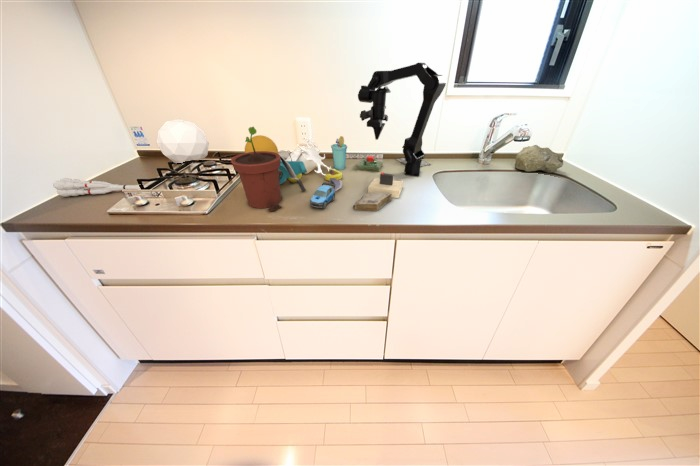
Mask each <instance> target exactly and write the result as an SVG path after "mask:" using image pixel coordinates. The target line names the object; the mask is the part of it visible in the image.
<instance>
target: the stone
mask: <svg viewBox="0 0 700 466" xmlns="http://www.w3.org/2000/svg"><path fill="white" fill-rule="evenodd" d="M391 200H392V197H391V193H390V192H386V193H378V192H369V193H368V192H366V193H364V194H363V195H362V196H361V197H360V199H359V200H357V201H356V202H355V203H354V204H353V205H352V208H353V209H354V210H355V211H366V212H367V211H372V212H378V211H379V210H380V209H381V208H383V207H384V206H385V205H387V204H388V203H389V202H391Z"/></svg>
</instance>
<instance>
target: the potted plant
mask: <svg viewBox="0 0 700 466" xmlns="http://www.w3.org/2000/svg"><path fill="white" fill-rule="evenodd" d="M247 130H248V132H249V134H250V137H249V136H246V137H245V142H244V143H247V142H250V143H252V147H253V150H254V152H248V153H245V152H243V153H240V154H237V155H235V156H233V157H232V158H230V162H231V165H232V168H233V171H235V172H237V173H238V175H239V178H240V181H241V185H242V187H243V191H244V194H245V196H246V199H247V203H248V205H249V206H250V207H252V208H255V209H266V208H268V209H267V211H268V212H276V211H277V210H279V209H282V207H281V205H280V203H281V201H282V193H281V184H280V183H279V175H280V174H279V173H280V171H278V167H279V166H280V164H281V161H282V162H283V164H284V166H285V168H286V169H287V171H288V173H289V175H290V176H291V178H292V179H297V182H296V183H297V185H298V186H299V188H300V189H301V192H302V193H303V192H306V190H307V189H306V187H305V186H304V184H303V181H301V179H298V178H296V175H295V173H294V171H293V170H292V168H291V166H290V164H289V163H288V162H287V161H286V160H285V159H284V158H282V157H281V156H280V155H279V154H278V153H279V152H278V153H275V152H269V151H255V148H254V145H253V142H252V137H253V136H255V135H256V134H257V129H256V128H255V127H254V126H250V127H248V129H247ZM249 139H250V140H249ZM280 159H281V160H280Z"/></svg>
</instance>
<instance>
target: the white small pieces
mask: <svg viewBox="0 0 700 466" xmlns="http://www.w3.org/2000/svg"><path fill="white" fill-rule="evenodd" d="M309 138H310V139H311V140H312V138H313V136H311V137H309ZM309 138H308V139H307V142H308V143H310V139H309ZM303 146H304V147H305V148H306V147H307V145H306V143H305V144H304V145H303ZM302 153H303V151H302V150H301V149H298V148H295V149H294V150H293V151H292V152H291V154H290V155H289V157H288V158H287V159H286V161H291V159H292V161H296V160H297V159H298V157H300V156H301V155H302ZM290 156H291V157H290Z"/></svg>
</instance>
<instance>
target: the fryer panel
mask: <svg viewBox="0 0 700 466" xmlns="http://www.w3.org/2000/svg"><path fill="white" fill-rule="evenodd" d="M403 186H404V181H403V180H394V179H393V184H392V185H384V184H380V177H379V178H378V177H374V178H373V179H372V180H371V182H370V183H369V185H368V186H367V193H369V192H378V193H386V192H390V193H391V199H392V198H394V199H399V198H400V195H401V192H402V190H403Z"/></svg>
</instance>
